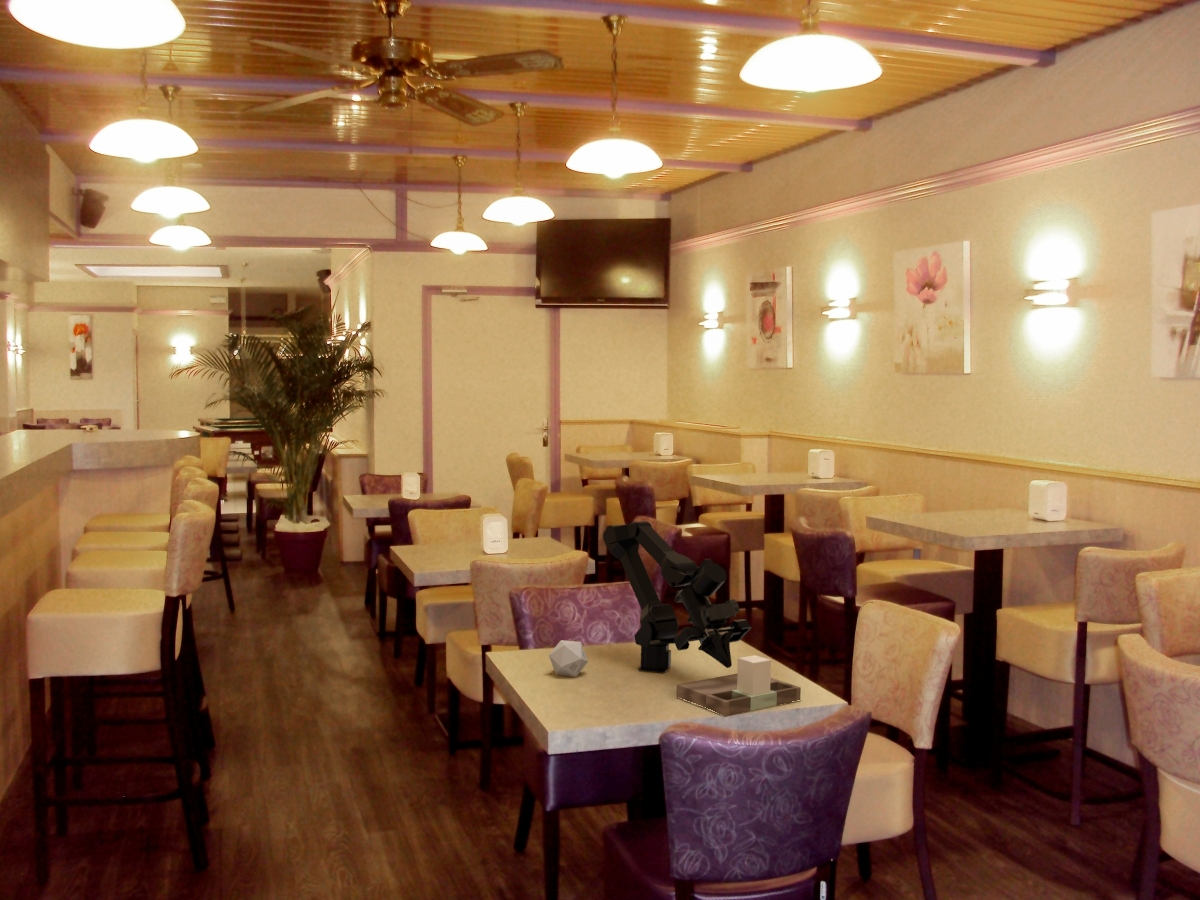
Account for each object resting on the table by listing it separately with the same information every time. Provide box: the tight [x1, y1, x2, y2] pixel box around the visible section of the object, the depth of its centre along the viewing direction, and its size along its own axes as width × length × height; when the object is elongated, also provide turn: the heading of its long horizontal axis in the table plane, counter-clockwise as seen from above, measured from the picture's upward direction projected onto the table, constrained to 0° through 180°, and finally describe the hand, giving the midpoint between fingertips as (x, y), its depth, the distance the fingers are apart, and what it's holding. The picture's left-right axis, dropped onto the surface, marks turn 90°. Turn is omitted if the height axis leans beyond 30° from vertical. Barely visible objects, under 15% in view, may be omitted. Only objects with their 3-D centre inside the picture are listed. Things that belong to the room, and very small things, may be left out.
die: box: [548, 639, 589, 678], centre depth 258 cm, size 8×9×10 cm
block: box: [736, 654, 772, 695], centre depth 235 cm, size 5×5×7 cm
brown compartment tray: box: [675, 673, 802, 717], centre depth 239 cm, size 16×22×3 cm
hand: (729, 666), depth 242 cm, fingers closed
